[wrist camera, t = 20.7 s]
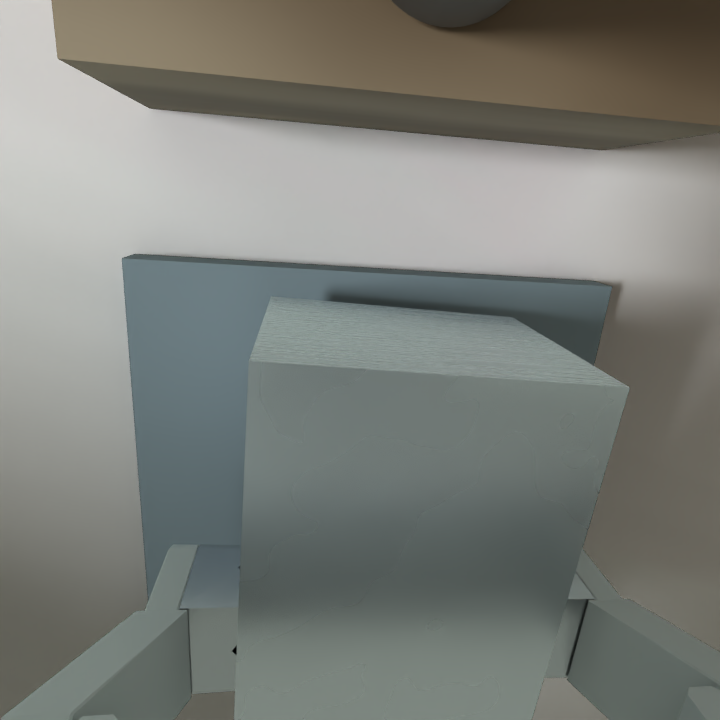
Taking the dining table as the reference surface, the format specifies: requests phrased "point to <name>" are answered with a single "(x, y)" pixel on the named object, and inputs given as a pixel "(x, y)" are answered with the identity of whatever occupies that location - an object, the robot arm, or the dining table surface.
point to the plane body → (415, 65)
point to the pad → (232, 353)
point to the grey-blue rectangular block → (411, 511)
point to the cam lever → (450, 11)
